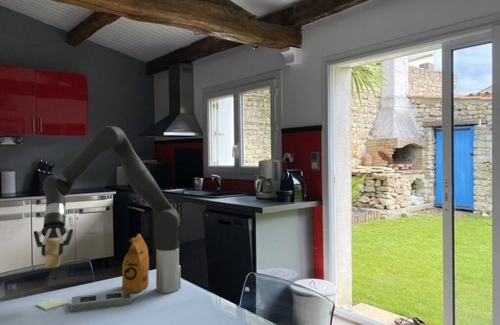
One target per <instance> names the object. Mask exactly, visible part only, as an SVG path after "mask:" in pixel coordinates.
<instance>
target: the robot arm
mask: <svg viewBox="0 0 500 325" xmlns="http://www.w3.org/2000/svg"><path fill="white" fill-rule="evenodd" d="M110 149H111V150H112V151H113V153H114V154H115V155H116V156H117V157H118V159H119V161H120V163H121V166H122V170H123V173H124V176H125V178H126V180H127V182H128V184H129V185H130V187H131V188H132V189H133V190H134V192H135V193H136V194H137V195H138V196H139V197H140V198H141V199H142V200H144V202H146V203H147V204H148V205H149V206H150V208H151V210H152V211H153V213H154V214H155V215H154V216H156V217H155V220H154V223H155V224H154V235H155V237H154V239H155V241H154V242H155V245H156V248H155V249H156V250H155V251H156V253H155V254H156V255H155V256H156V261H155V262H156V265H155V270H156V273H155V278H156V279H155V287H156V288H155V291H156V292H158V293H159V294H170V293H175V292H177V291H179V289H181V283H182V282H181V281H182V280H181V279H182V278H181V274H182V273H181V271H182V268H181V265H180V241H179V237H178V236H179V226H180V223H181V216H180V214H179V213H178V211H177V210H176V208H174V207H173V206H172V204H171V203H170V202H169V200H168V199H167V198H166V197H165V195H164V193H163V191H162V190H161V188H160V186H159V185H158V184H157V182H156V180H155V178H154V177H153V175H152V174H151V173H150V171H149V169H148V168H147V166H146V165H145V164H144V162H143V161H142V160H141V158H140V157H139V156H138V155H137V153H136V152H135V150H134V148H133V146H132V144H131V143H130V140H129V139H128V137H127V135H126V133H125V132H124V131H123V129H121V128H120V127H118V126H112V125H106V126H103V127H101V128H100V129H99V130H98V131H97V132H96V134H95V135H94V137H93V138H92V139H91V141H90V142H89V143H88V144H87V145H86V146H85V148H84V149H83V150H82V151H80V153H79V154H78V155H77V156H76V157H75V158H74V159H72V160H71V161H70V162H69V163H68V164H67V165H66V166H65V167H64V168H63V169H62V171H61V175H62V176H63V178H65V179H63V178H61V177H59V176H57V175H54V174H52V175H49V176H47V177H46V178H45V179H44V181H43V186H42V189H43V192H44V196H45V201H46V204H45V210H44V216H43V226H42V227H43V228H42V229H41V230H39V231H37V230H35V231H33V237H34V240H35V245H36V247H37V248H41V252H40V253H41V256H43V257H44V258H45V254H46V252H45V240H46V239H48V238H60V240H59V242H60V244H59V256H61V255H63V253H64V247H65V246H69V244H70V242H71V240H72V238H73V236H74V229H73V228H70V229H67V228H66V217H67V216H66V215H67V212H66V202H67V201H66V196H68V195H69V193H70V192H71V190H72V188H73V187H74V185H75V184H76V183H77V181H78V180H79V179H80V178H81V177H82V176H83V175H84V174H85V173H86V172H87V171H88V170H89V169H90V168H91V166H92V165H93V163H94V162H95V160H96V159H97V158H98V157H99V156H100V155H102V154H103V153H104V152H106V151H107V150H110ZM65 234H66V237H65V240H63V237H64V235H65ZM41 236H43V237H44V238H43V241H41V239H40V238H41Z"/></svg>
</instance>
